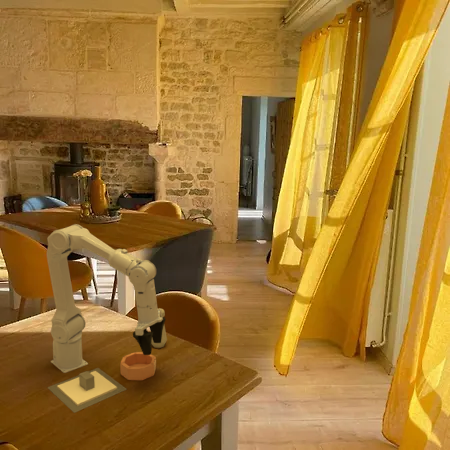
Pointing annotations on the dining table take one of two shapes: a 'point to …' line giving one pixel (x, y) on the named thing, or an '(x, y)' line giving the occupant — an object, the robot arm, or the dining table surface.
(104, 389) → the lid
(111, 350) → the dining table surface
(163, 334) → the salt shaker
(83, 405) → the mat
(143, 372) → the bowl
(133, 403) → the dining table surface
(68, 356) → the robot arm
